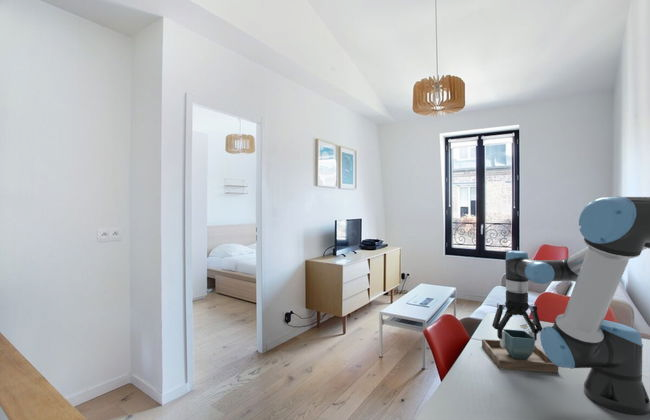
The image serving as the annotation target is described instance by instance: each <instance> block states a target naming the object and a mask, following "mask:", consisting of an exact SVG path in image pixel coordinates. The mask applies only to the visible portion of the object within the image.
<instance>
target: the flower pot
mask: <svg viewBox="0 0 650 420" xmlns="http://www.w3.org/2000/svg"><path fill="white" fill-rule="evenodd" d="M503 331H504V332H505V348H506V350H507V352H508V353H509V354H510V355H511V356H512V357H513V358H515V359H526V360H527V359H528V358H529V357H530V356H531V354H532V353H533V350H534V345H536V341H537V340H536V339H535V338H534V337H532V336H531V335H530V334H529V332H527V330H526V331H525V330H522V329H506V328H504V329H503ZM535 340H536V341H535Z"/></svg>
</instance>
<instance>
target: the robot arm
mask: <svg viewBox="0 0 650 420" xmlns="http://www.w3.org/2000/svg"><path fill="white" fill-rule="evenodd" d="M578 225H579V226H580V228H579V232H580V233H581V236H583V241H584V243H585V245H586V247H585V248H582V249H581V250H579V251H578V252H576V253H574V254H572V255H570V256H569V257H567V258H565V259H550V260H549V259H544V260H543V259H541V260H540V259H539V260H538V259H537V260H536V259H530V258H529V253H528V252H526V251H524V250H508V251H506V253H505V261H504V262H505V289H506V290H505V302H504V303H500V302H498V303H496V312H495V315H494V318H493V321H492V325H491V326H492V328H493V329H494V330H497V333H496V334H497V338H498V340H500V346H501V347H502V348H505V332H504V331H503V329H505V327H506V325H507V324H508V322H509V321H510V319H511V318H512V317H513V316H522V317H523V319H524V321H525V322H526V324H528V325H529V327H530V329H528V330H529V331H528V334H530V335H531V336H532V337H534V338H535V339H536V340H535V342H536V341H537V339H538V338H537V336H538V334H539V332H540V334H539V337H540V338H539V339H540V345H541V347H542V351H543V352H544V353H545V354H546V356H547V357H548V358H549V360H550V361H551V362H552V363H553V364H555V365H556V366H558V368H562V369H563V368H565V369H589V372H588V374H587V376H586V379H585V380H584V383H583V392H584V394H585V395H586V396H587V397H588V398H589V399H590V400H591V401H593V402H595V403H597V405H601V406H603V407H605V408H606V409H607V408H608V409H611V410H613V411H617V412H620V413H624V414H629V415H636V416H637V415H646V414H649V413H650V397H649V396H648V393H647V391H646V387H645V384H644V382H643V346H644V344H643V340H642V337H643V336H642V334H641V332H639V330H637V329H635V328H633V327H631V326H629V325H626V324H622V323H619V322H615V321H612V320H611V321H610V320H606V319H605V317H606V315H607V313H608V310H609V308H610V306H611V304H612V302H613V301H612V300H613V298H614V297H615V293H616V292H617V288H618V287H619V284H620V282H621V280H622V278H623V275H624V273H625V271H626V268H627V266H628V263H629V260H630V259H635V258H638V257H640V255H641V254H642V251H645V250H647V249H649V250H650V196H620V195H616V196H610V197H609V196H608V197H606V196H605V197H600V198H599V197H598V198H597V199H594V200H592V201H591V202H588V204H587V205H586V206H584V208H583V209H582V211H581V212H580V215H579V218H578ZM529 281H530V282H532V283H535V284H539V285H540V284H541V285H547V284H549V283H550V282H573V283H574V282H575V284H574V286H573V289H572V292H571V294H570V297H569V300H568V302H567V306H566V308H565V311H564V313H561V314H558V315H557V316H556V317H555V320H554V323H553V325H552V326H549V325H548V326H544V327H542V324H541V321H540V318H539V315H538V314H539V313H538V305H537V306H535V304H533V303H532V304H529V293H528V291H529ZM505 308H506V311H505V313H504V315H503V311H504V310H505ZM528 310H530V313H531V317H532V319H531V318H530V317H529V314H528V312H527V311H528ZM502 315H503V317H502ZM533 320H534V323H535V326H536V327H535V326H534V325H533V323H532V321H533ZM530 330H531V331H530Z"/></svg>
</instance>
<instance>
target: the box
mask: <svg viewBox="0 0 650 420" xmlns="http://www.w3.org/2000/svg"><path fill="white" fill-rule="evenodd" d="M481 347H482V348H483V350H484V351H485V352H486V353H487V355H488V357H490V358H491V360H492V361H493V363H494V364H495V365H496V366H497V368H498V369H499V370H510V371H511V370H513V371H524V372H525V371H528V372H541V373H542V372H544V373H555V374H556V373H557V374H559V367H558V366H556V365H555V364H553V363H552V362H551V361H550V360H549V358H548V357H547V356H546V354H545V352H544V350H543V349H541V348H540V347H538V345H536V344H535V345H534V350H533V353H532V354H531V356H530V357H529V358H528V359H527V360H526V359H515V358H513V357H512V356H511V355H510V354H509V353H508V352H507V350H506V348H502V347H501V346H500V339H486V338H485V339H484V338H483V339H481Z"/></svg>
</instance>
